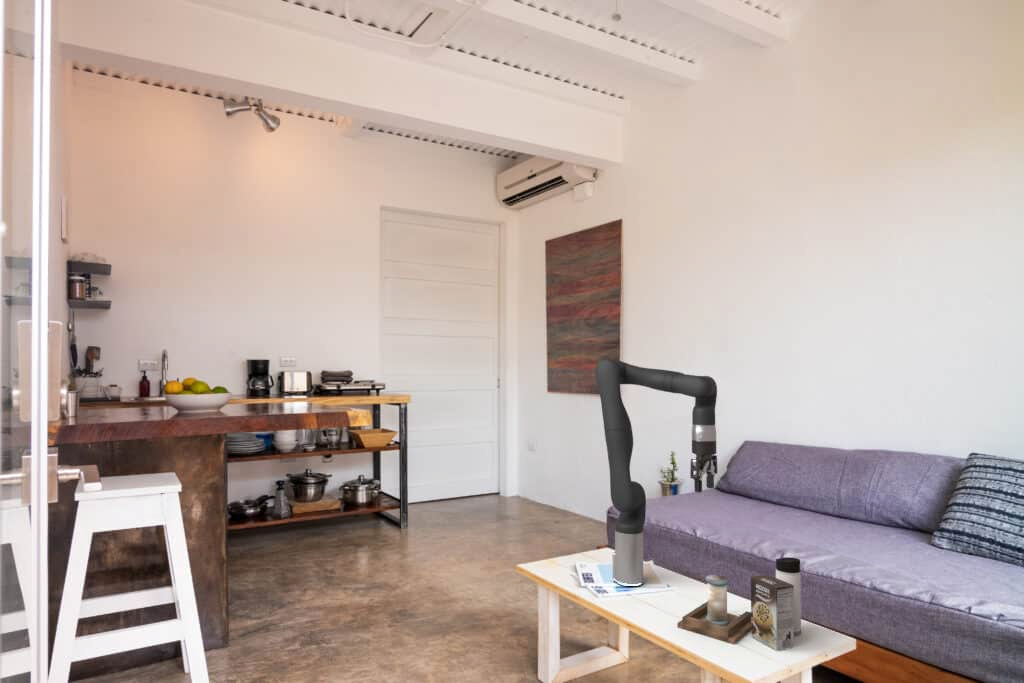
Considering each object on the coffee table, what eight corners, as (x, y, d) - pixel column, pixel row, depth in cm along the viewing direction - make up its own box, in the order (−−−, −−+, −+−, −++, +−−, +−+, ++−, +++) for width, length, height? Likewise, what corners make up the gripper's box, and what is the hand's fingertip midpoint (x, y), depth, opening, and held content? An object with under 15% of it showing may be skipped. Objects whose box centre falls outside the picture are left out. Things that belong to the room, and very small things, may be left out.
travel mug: (791, 638, 170) (790, 562, 170) (771, 629, 176) (770, 555, 176) (807, 633, 173) (806, 559, 173) (787, 624, 179) (786, 552, 179)
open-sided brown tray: (677, 627, 177) (677, 615, 177) (703, 610, 189) (703, 599, 189) (733, 644, 166) (733, 631, 166) (757, 625, 178) (757, 614, 178)
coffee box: (750, 637, 170) (749, 576, 171) (768, 633, 173) (767, 573, 173) (776, 651, 162) (775, 587, 162) (795, 647, 164) (794, 584, 165)
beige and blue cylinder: (702, 622, 177) (702, 578, 178) (711, 615, 182) (711, 573, 182) (723, 628, 173) (723, 583, 174) (732, 621, 178) (731, 578, 178)
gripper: (702, 435, 210) (703, 485, 210) (682, 439, 200) (682, 491, 199) (724, 437, 205) (725, 488, 205) (705, 441, 195) (705, 495, 194)
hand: (704, 490), depth 202 cm, fingers open, 8 cm apart
